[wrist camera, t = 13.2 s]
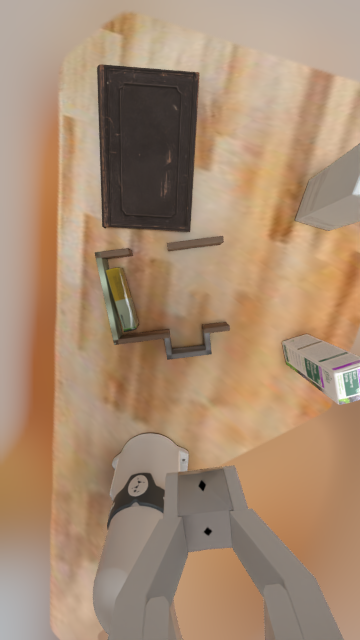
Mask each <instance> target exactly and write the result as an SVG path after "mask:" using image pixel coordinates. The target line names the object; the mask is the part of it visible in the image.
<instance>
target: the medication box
mask: <svg viewBox="0 0 360 640" xmlns="http://www.w3.org/2000/svg"><path fill="white" fill-rule="evenodd" d="M106 273H107V277H108V280H109V284H110V287H111V290H112V294H113V297H114V300H115V303H116V307H117V310H118V313H119V317H120V320H121V323H122V327H123V330H124V332H128V331H132V330H135V329H137V327H138V326H139V323H138V319H137V315H136V312H135V308H134V304H133V301H132V297H131V294H130V290H129V287H128V283H127V279H126V276H125V272H124V269H123V268H119V267H118V268H112V269H109V270H106Z"/></svg>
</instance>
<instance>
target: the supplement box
mask: <svg viewBox="0 0 360 640" xmlns="http://www.w3.org/2000/svg"><path fill="white" fill-rule="evenodd" d="M295 221H298V222H301V223H304V224H308V225H311V226H314V227H318V228H321V229H324V230H328V231H330V230H333V229H336V228H340V227H343V226H346V225H350V224H353V223H356V222H359V221H360V144H358V145H357V146H356V147H354V148H353V149H351V150H350V151H349V152H347V153H346V154H345V155H343V156H342V157H340V158H339V159H338V160H336V161H335V162H334V163H332V164H331V165H330V166H328V167H327V168H325V169H324V170H323V171H321V172H320V173H318V174H317V175H316V176H314V177H313V178H312V179H310V180H309V182H308V185H307V188H306V191H305V193H304V196H303V199H302V202H301V205H300V208H299V210H298V213H297V216H296V219H295Z"/></svg>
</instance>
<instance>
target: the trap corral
mask: <svg viewBox="0 0 360 640" xmlns="http://www.w3.org/2000/svg"><path fill="white" fill-rule="evenodd" d="M223 242H224V241H223V236H219V237H211V238H203V239H196V240H188V241H180V242H173V243H167V247H168V251H173V250H181V249H189V248H197V247H204V246H212V245H220V244H221V243H223ZM95 256H96V261H97V266H98V271H99V275H100V280H101V285H102V289H103V294H104V299H105V304H106V308H107V313H108V318H109V322H110V327H111V332H112V337H113V341H114V345H117V344H125V343H133V342H141V341H149V340H157V339H164V340H165V347H166V353H167V360H168V359H176V358H185V357H193V356H201V355H209V354H212V353H211V343H210V333H214V332H222V331H230V326H229V325H228V324H227V323H226V322H222V323H214V324H206V325H202V329H203V339H204V345H200V346H192V347H184V348H176V349H172V345H171V338H170V331H169V329H166V330H158V331H150V332H142V333H134V334H126V335H122V330H121V325H120V320H119V315H118V310H117V307H116V303H115V300H114V297H113V294H112V290H111V287H110V284H109V280H108V277H107V273H106V270H109V265H108V260H107V259H112V258H119V257H127V256H133V254H132V250H130V249H128V248H126V249H119V250H111V251H103V252H96V253H95Z"/></svg>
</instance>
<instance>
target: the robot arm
mask: <svg viewBox="0 0 360 640" xmlns="http://www.w3.org/2000/svg"><path fill="white" fill-rule="evenodd" d="M188 457H189V452H188V451H187V450H186V449H184V448H181V447H178V446H177V445H176V444H175V443H174V442H172V441H171V440H170V439H168V438H167V437H165V436H162V435H159V434H153V433H148V434H141V435H138V436H136V437H134V438H132V439H131V440H129V441H128V442H127V443H126V445H125V446H124V448H123V450H122V451H121V453H120V454H119V455H117V456H116V457H115V458H114V459H113V462H112V466H113V468H114V470H115V473H114V477H113V481H112V486H111V490H110V496H111V498H112V501H113V504H112V507H111V509H110V513H109V519H108V524H107V528H108V532H107V536H106V539H105V543H104V547H103V551H102V554H101V558H100V562H99V565H98V569H97V573H96V577H95V580H94V586H93V604H94V610H95V613H96V616H97V618H98V620H99V622H100V624H101V626H102V627H103V629H104V630H105V631H106V633H107V634H108V635H109V636H108V640H183V638H182V635H181V632H180V628H179V625H178V621H177V616H176V612H175V607H174V600H173V598H174V595H175V592H176V589H177V586H178V583H179V580H180V577H181V574H182V571H183V568H184V565H185V562H186V559H187V556H188V552H194V551H201V550H207V549H218V548H233V550H234V552H235V553H236V555H237V556H238V558H239V560H240V561H241V563H242V564H243V566H244V568H245V569H246V571H247V572H248V574H249V576H250V577H251V579H252V580H253V582H254V583H255V585H256V587H257V588H258V590H259V592H260V593H261V595H262V596H263V598H264V623H265V640H344V639H343V637H342V635H341V633H340V630H339V628H338V626H337V624H336V622H335V620H334V617H333V615H332V613H331V611H330V609H329V606H328V604H327V602H326V600H325V598H324V595H323V593H322V591H321V589H320V587H319V585H318V582H317V580H316V578H315V577H314V576H313V575H312V574H311V573H310V572H309V571H308V570H307V568H306V567H305V566H304V565H303V564H302V563H301V562H300V561H299V560H298V559H297V557H296V556H295V555H294V554H293V553H292V552H291V551H290V550H289V549H288V547H287V546H285V544H284V543H283V542H282V541H281V540H280V539H279V538H278V537H277V535H276V534H275V533H274V532H273V531H272V530H271V529H270V528H269V527H268V526H267V524H266V523H265V522H264V521H263V520H262V519H261V518H260V517H259V516H258V515H257V514H256V512H255V511H254V510H253V509H248V506H247V503H246V500H245V497H244V493H243V490H242V487H241V484H240V480H239V477H238V474H237V471H236V468H235V466H225V467H214V468H207V469H200V470H193V471H187V468H188Z"/></svg>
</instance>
